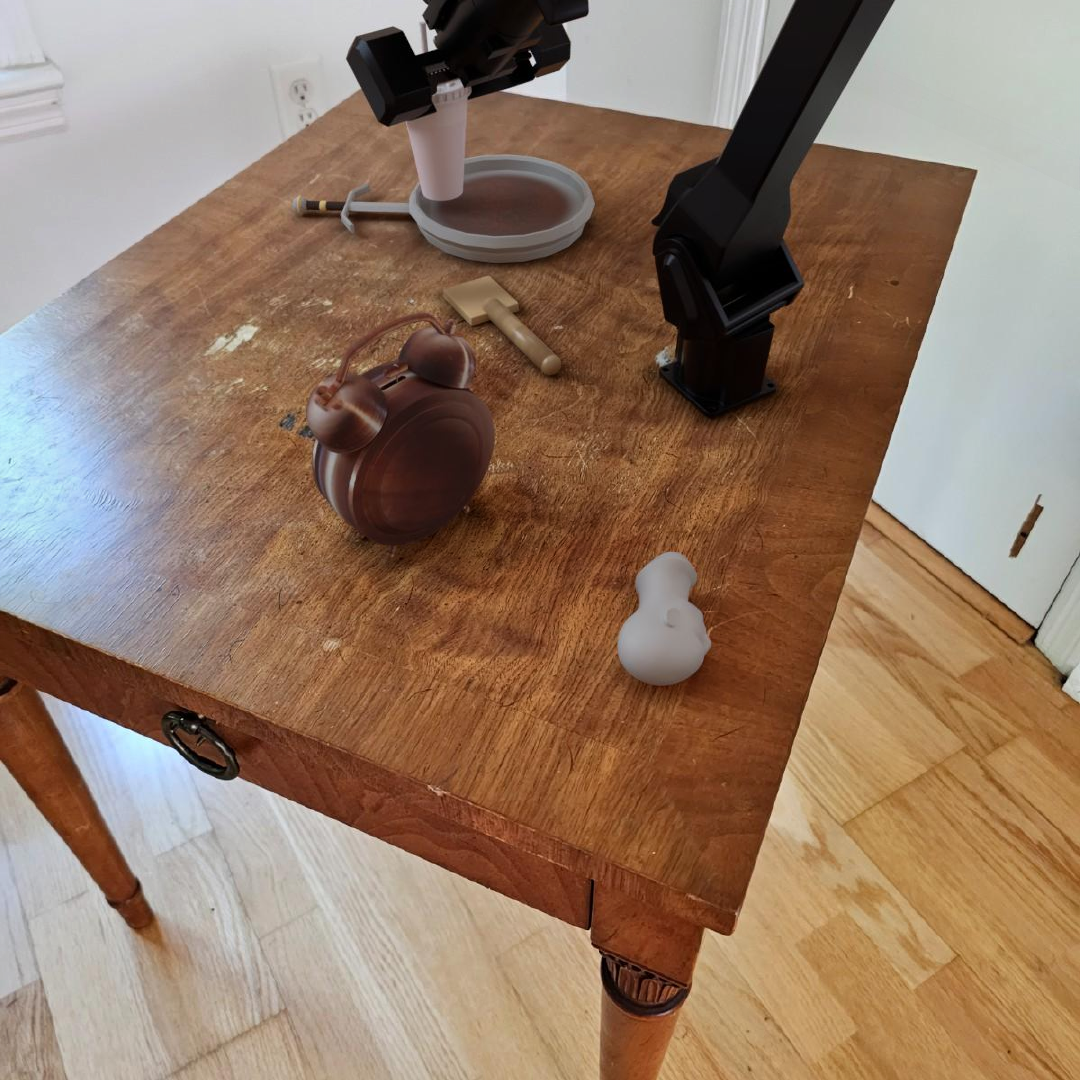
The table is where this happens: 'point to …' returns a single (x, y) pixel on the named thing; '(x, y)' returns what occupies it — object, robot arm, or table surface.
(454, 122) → the smoothie
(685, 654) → the smooth white sculpture
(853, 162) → the table surface
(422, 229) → the frying pan
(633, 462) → the table surface
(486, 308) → the spatula
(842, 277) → the table surface
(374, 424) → the alarm clock
